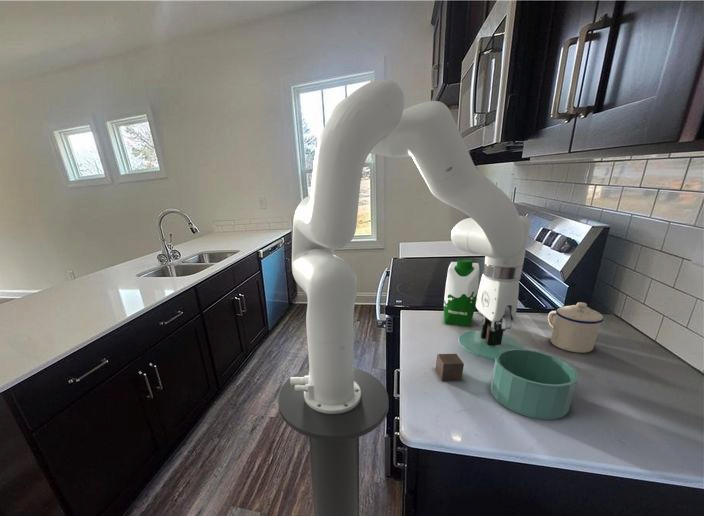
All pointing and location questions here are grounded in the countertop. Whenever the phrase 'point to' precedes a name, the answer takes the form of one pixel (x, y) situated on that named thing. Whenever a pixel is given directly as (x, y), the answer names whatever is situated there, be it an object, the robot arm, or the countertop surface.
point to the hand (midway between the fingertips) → (490, 340)
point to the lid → (481, 348)
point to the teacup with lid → (575, 327)
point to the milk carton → (461, 292)
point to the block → (449, 367)
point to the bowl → (533, 383)
